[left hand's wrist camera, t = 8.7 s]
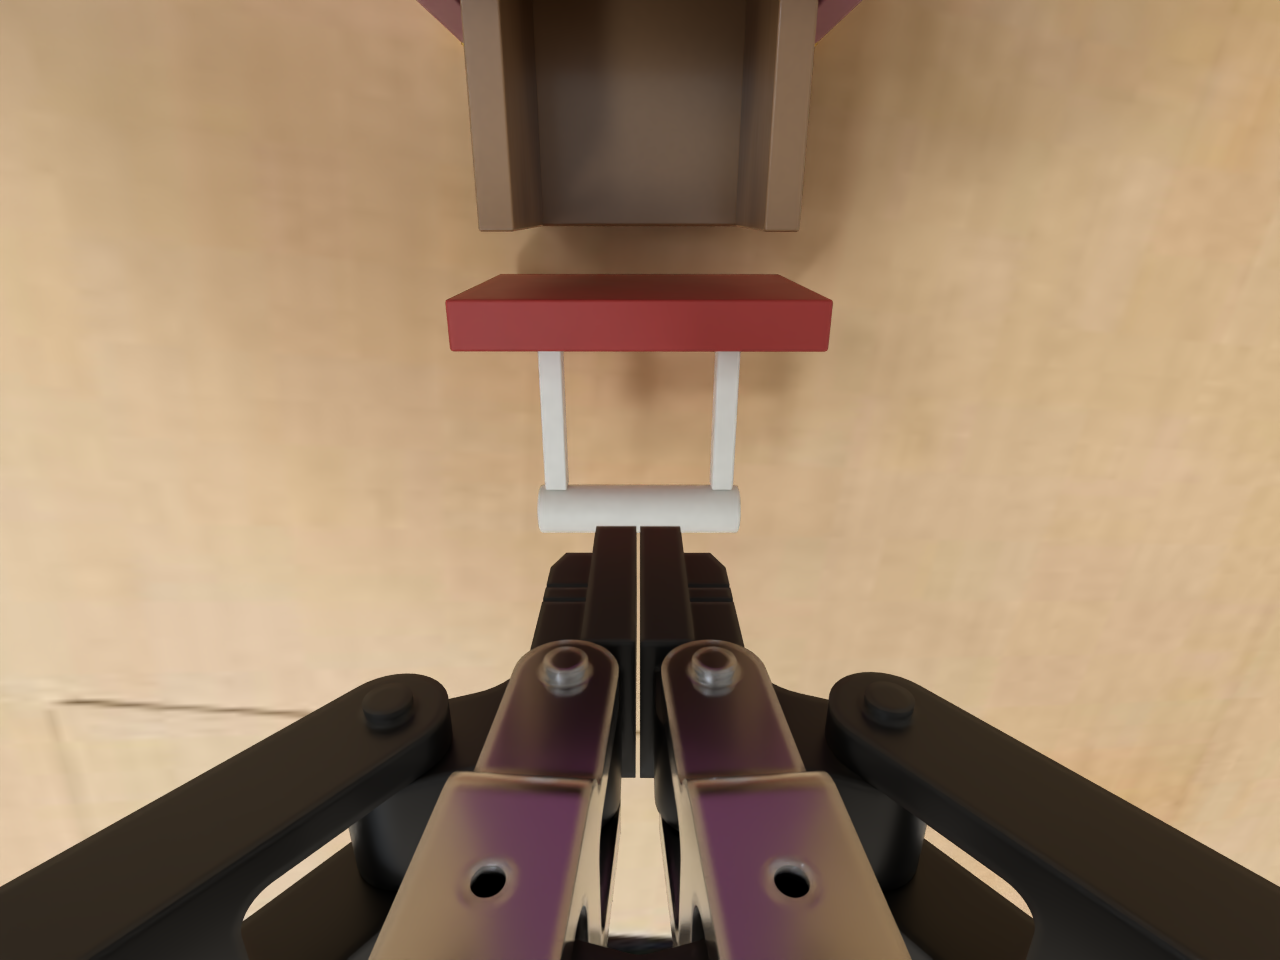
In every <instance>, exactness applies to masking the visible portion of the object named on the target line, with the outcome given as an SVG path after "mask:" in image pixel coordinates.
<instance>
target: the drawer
mask: <svg viewBox="0 0 1280 960" xmlns="http://www.w3.org/2000/svg"><path fill="white" fill-rule="evenodd" d="M460 6H461V18H462V31H463V43H464V55H465V67H466V79H467V91H468V104H469V116H470V128H471V140H472V152H473V164H474V177H475V189H476V201H477V213H478V225H479V230H480V231H517V230H523V229H528V228H534V227H539V226H739V227H744V228H749V229H755V230H760V231H766V232H797V231H799V229H800V217H801V205H802V193H803V181H804V168H805V156H806V144H807V132H808V120H809V108H810V96H811V84H812V72H813V60H814V48H815V36H816V24H817V12H818V0H460ZM445 303H446V313H447V323H448V333H449V342H450V349H451V350H452V351H538V365H539V383H540V401H541V419H542V437H543V455H544V473H545V485H542V486H541V487H540V489H539V494H538V525H539V529H540V531H541V532H543V533H595V531H596V526H636V532H637V533H640V526H680V528H681V533H736V532H738V529H739V526H740V516H741V503H740V493H739V489H738V486H736V485H733V476H734V458H735V440H736V422H737V404H738V387H739V369H740V352H825V351H827V350H828V345H829V335H830V325H831V316H832V306H833V302H832V300H830V299H828V298H826V297H824V296H822V295H820V294H818V293H816V292H813V291H811V290H809V289H807V288H805V287H803V286H801V285H799V284H797V283H795V282H793V281H791V280H788V279H786V278H784V277H782V276H780V275H778V274H500V275H498V276H496V277H494V278H492V279H490V280H487V281H485V282H483V283H481V284H479V285H477V286H475V287H473V288H471V289H468V290H466V291H464V292H462V293H460V294H458V295H456V296H454V297H452V298H449V299H447V300H446V302H445ZM563 351H662V352H715V367H714V391H713V414H712V438H711V462H710V484H711V485H568V482H569V477H568V453H567V428H566V404H565V380H564V356H563Z"/></svg>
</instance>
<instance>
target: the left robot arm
mask: <svg viewBox="0 0 1280 960" xmlns="http://www.w3.org/2000/svg"><path fill="white" fill-rule="evenodd" d="M636 650H637V532H636V526H596V531H595V538H594V546H593V553H566V554H565V555H564V556H563V557H561V558H560V559H559V560H558V561H557V562H556V563H555V564H554V565H553V566H552V567H551V569H550V573H549V577H548V581H547V588H546V589H545V593H544V597H543V602H542V605H541V609H540V613H539V617H538V621H537V625H536V629H535V633H534V637H533V641H532V645H531V649H530V651H529V652H527V653H526V654H525V655H524V656H523V657H522V658H521V659H520V660H519V661H518V662H517V664H516V666H515V668H514V670H513V673H512V675H511V678H510V679H509V680H507V681H505V682H504V683H502V684H500V685H498V686H496V687H493V688H491V689H488V690H485V691H481V692H478V693H474V694H469V695H465V696H460V697H456V698H451V699H448V694H447V692H446V689H445V688H444V687H443V685H442V684H440V683H439V682H438V681H436V680H434V679H433V678H430V677H427V676H424V675H419V674H395V675H389V676H385V677H381V678H377V679H375V680H372V681H369V682H367V683H365V684H363V685H361V686H359V687H357V688H355V689H353V690H351V691H350V692H348V693H346V694H344V695H343V696H341V697H339V698H337V699H335V700H334V701H332V702H330V703H328V704H326V705H325V706H323V707H321V708H319V709H317V710H316V711H314V712H312V713H310V714H309V715H307V716H305V717H303V718H301V719H300V720H298V721H296V722H294V723H292V724H291V725H289V726H287V727H285V728H284V729H282V730H280V731H278V732H276V733H275V734H273V735H271V736H269V737H267V738H266V739H264V740H262V741H260V742H258V743H257V744H255V745H253V746H251V747H250V748H248V749H246V750H244V751H242V752H241V753H239V754H237V755H235V756H233V757H232V758H230V759H228V760H226V761H225V762H223V763H221V764H219V765H217V766H216V767H214V768H212V769H210V770H208V771H207V772H205V773H203V774H201V775H199V776H198V777H196V778H194V779H192V780H191V781H189V782H187V783H185V784H183V785H182V786H180V787H178V788H176V789H174V790H173V791H171V792H169V793H167V794H166V795H164V796H162V797H160V798H158V799H157V800H155V801H153V802H151V803H149V804H148V805H146V806H144V807H142V808H141V809H139V810H137V811H135V812H133V813H132V814H130V815H128V816H126V817H124V818H123V819H121V820H119V821H117V822H115V823H114V824H112V825H110V826H108V827H107V828H105V829H103V830H101V831H99V832H98V833H96V834H94V835H92V836H90V837H89V838H87V839H85V840H83V841H82V842H80V843H78V844H76V845H74V846H73V847H71V848H69V849H67V850H65V851H64V852H62V853H60V854H58V855H56V856H55V857H53V858H51V859H49V860H48V861H46V862H44V863H42V864H40V865H39V866H37V867H35V868H33V869H31V870H30V871H28V872H26V873H24V874H23V875H21V876H19V877H17V878H15V879H14V880H12V881H10V882H8V883H6V884H5V885H3V886H1V887H0V960H1280V887H1279V886H1277V885H1275V884H1274V883H1272V882H1270V881H1268V880H1266V879H1265V878H1263V877H1261V876H1259V875H1257V874H1256V873H1254V872H1252V871H1250V870H1249V869H1247V868H1245V867H1243V866H1241V865H1240V864H1238V863H1236V862H1234V861H1232V860H1231V859H1229V858H1227V857H1225V856H1223V855H1222V854H1220V853H1218V852H1216V851H1215V850H1213V849H1211V848H1209V847H1207V846H1206V845H1204V844H1202V843H1200V842H1198V841H1197V840H1195V839H1193V838H1191V837H1190V836H1188V835H1186V834H1184V833H1182V832H1181V831H1179V830H1177V829H1175V828H1173V827H1172V826H1170V825H1168V824H1166V823H1164V822H1163V821H1161V820H1159V819H1157V818H1156V817H1154V816H1152V815H1150V814H1148V813H1147V812H1145V811H1143V810H1141V809H1139V808H1138V807H1136V806H1134V805H1132V804H1131V803H1129V802H1127V801H1125V800H1123V799H1122V798H1120V797H1118V796H1116V795H1114V794H1113V793H1111V792H1109V791H1107V790H1106V789H1104V788H1102V787H1100V786H1098V785H1097V784H1095V783H1093V782H1091V781H1089V780H1088V779H1086V778H1084V777H1082V776H1080V775H1079V774H1077V773H1075V772H1073V771H1072V770H1070V769H1068V768H1066V767H1064V766H1063V765H1061V764H1059V763H1057V762H1055V761H1054V760H1052V759H1050V758H1048V757H1047V756H1045V755H1043V754H1041V753H1039V752H1038V751H1036V750H1034V749H1032V748H1030V747H1029V746H1027V745H1025V744H1023V743H1021V742H1020V741H1018V740H1016V739H1014V738H1013V737H1011V736H1009V735H1007V734H1005V733H1004V732H1002V731H1000V730H998V729H996V728H995V727H993V726H991V725H989V724H988V723H986V722H984V721H982V720H980V719H979V718H977V717H975V716H973V715H971V714H970V713H968V712H966V711H964V710H962V709H961V708H959V707H957V706H955V705H954V704H952V703H950V702H948V701H946V700H945V699H943V698H941V697H939V696H937V695H936V694H934V693H932V692H930V691H929V690H927V689H925V688H923V687H921V686H920V685H918V684H916V683H914V682H912V681H909V680H907V679H904V678H901V677H898V676H894V675H891V674H885V673H877V672H862V673H856V674H852V675H849V676H846V677H844V678H842V679H840V680H839V681H838V682H837V683H835V685H834V686H833V687H832V689H831V691H830V694H829V700H827V699H823V698H818V697H814V696H809V695H805V694H800V693H796V692H793V691H789V690H786V689H784V688H781V687H779V686H777V685H775V684H773V683H771V680H770V678H769V675H768V673H767V670H766V668H765V666H764V664H763V662H762V661H761V660H760V659H759V658H758V657H757V656H756V655H755V654H754V653H753V652H751V651H749V650H748V649H746V648H744V643H743V639H742V635H741V631H740V627H739V622H738V618H737V614H736V610H735V606H734V602H733V597H732V593H731V589H730V588H729V580H728V576H727V572H726V568H725V567H724V566H723V565H722V564H721V563H720V562H719V561H718V560H717V559H716V558H715V557H714V556H713V555H712V554H711V553H684V552H683V544H682V536H681V528H680V526H640V778H654V791H655V803H656V807H657V809H658V812H659V832H660V840H661V848H662V857H663V865H664V873H665V882H666V890H667V899H668V907H669V915H670V924H671V932H672V940H673V948H670V949H666V950H662V951H659V952H655V953H651V954H646V955H634V954H629V953H625V952H621V951H618V950H614V949H610V948H607V940H608V932H609V924H610V915H611V907H612V899H613V890H614V882H615V873H616V865H617V857H618V848H619V840H620V832H621V778H635V774H636ZM927 825H928V826H930V827H931V828H933V829H934V830H935V831H937V832H938V833H940V834H941V835H942V836H944V837H945V838H947V839H948V840H949V841H951V842H952V843H954V844H955V845H956V846H958V847H959V848H960V849H962V850H963V851H965V852H966V853H967V854H969V855H970V856H972V857H973V858H974V859H976V860H977V861H979V862H980V863H981V864H983V865H984V866H986V867H987V868H988V869H990V870H991V871H993V872H994V873H995V874H997V875H998V876H1000V877H1001V878H1002V879H1004V880H1005V881H1006V882H1008V883H1009V884H1010V885H1011V886H1012V887H1013V888H1014V889H1015V890H1016V891H1017V892H1018V893H1019V894H1020V895H1021V897H1022V898H1023V899H1024V901H1025V902H1026V904H1027V905H1028V907H1029V909H1030V911H1031V913H1032V916H1033V918H1032V917H1030V916H1029V915H1028V914H1026V913H1025V912H1023V911H1022V910H1021V909H1019V908H1018V907H1017V906H1015V905H1014V904H1013V903H1011V902H1010V901H1008V900H1007V899H1006V898H1004V897H1003V896H1002V895H1000V894H999V893H998V892H996V891H995V890H994V889H992V888H991V887H989V886H988V885H987V884H985V883H984V882H983V881H981V880H980V879H979V878H977V877H976V876H974V875H973V874H972V873H970V872H969V871H968V870H966V869H965V868H964V867H962V866H961V865H960V864H958V863H957V862H955V861H954V860H953V859H951V858H950V857H949V856H947V855H946V854H945V853H943V852H942V851H940V850H939V849H938V848H936V847H935V846H934V845H932V844H931V843H930V842H928V841H927V840H926V839H924V835H925V831H926V826H927ZM347 828H349V832H350V836H351V841H352V842H350V843H349V844H348V845H346V846H345V847H344V848H342V849H341V850H340V851H338V852H337V853H335V854H334V855H333V856H331V857H330V858H329V859H327V860H326V861H325V862H323V863H322V864H320V865H319V866H318V867H316V868H315V869H314V870H312V871H311V872H310V873H308V874H307V875H306V876H304V877H303V878H301V879H300V880H299V881H297V882H296V883H295V884H293V885H292V886H291V887H289V888H288V889H286V890H285V891H284V892H282V893H281V894H280V895H278V896H277V897H276V898H274V899H273V900H272V901H270V902H269V903H267V904H266V905H265V906H263V907H262V908H261V909H259V910H258V911H257V912H255V913H254V914H252V915H251V916H250V917H248V918H247V919H246V920H244V921H243V918H244V916H245V914H246V912H247V910H248V908H249V906H250V905H251V904H252V902H253V901H254V899H255V898H256V897H257V896H258V895H259V894H260V893H261V892H262V891H263V890H264V889H265V888H266V887H267V886H268V885H270V884H271V883H272V882H273V881H275V880H276V879H278V878H279V877H280V876H282V875H283V874H285V873H286V872H287V871H289V870H290V869H292V868H293V867H294V866H296V865H297V864H299V863H300V862H301V861H303V860H304V859H306V858H307V857H308V856H310V855H311V854H313V853H314V852H315V851H317V850H318V849H319V848H321V847H322V846H324V845H325V844H326V843H328V842H329V841H331V840H332V839H333V838H335V837H336V836H338V835H339V834H340V833H342V832H343V831H345V830H346V829H347ZM242 921H243V922H242Z"/></svg>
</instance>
